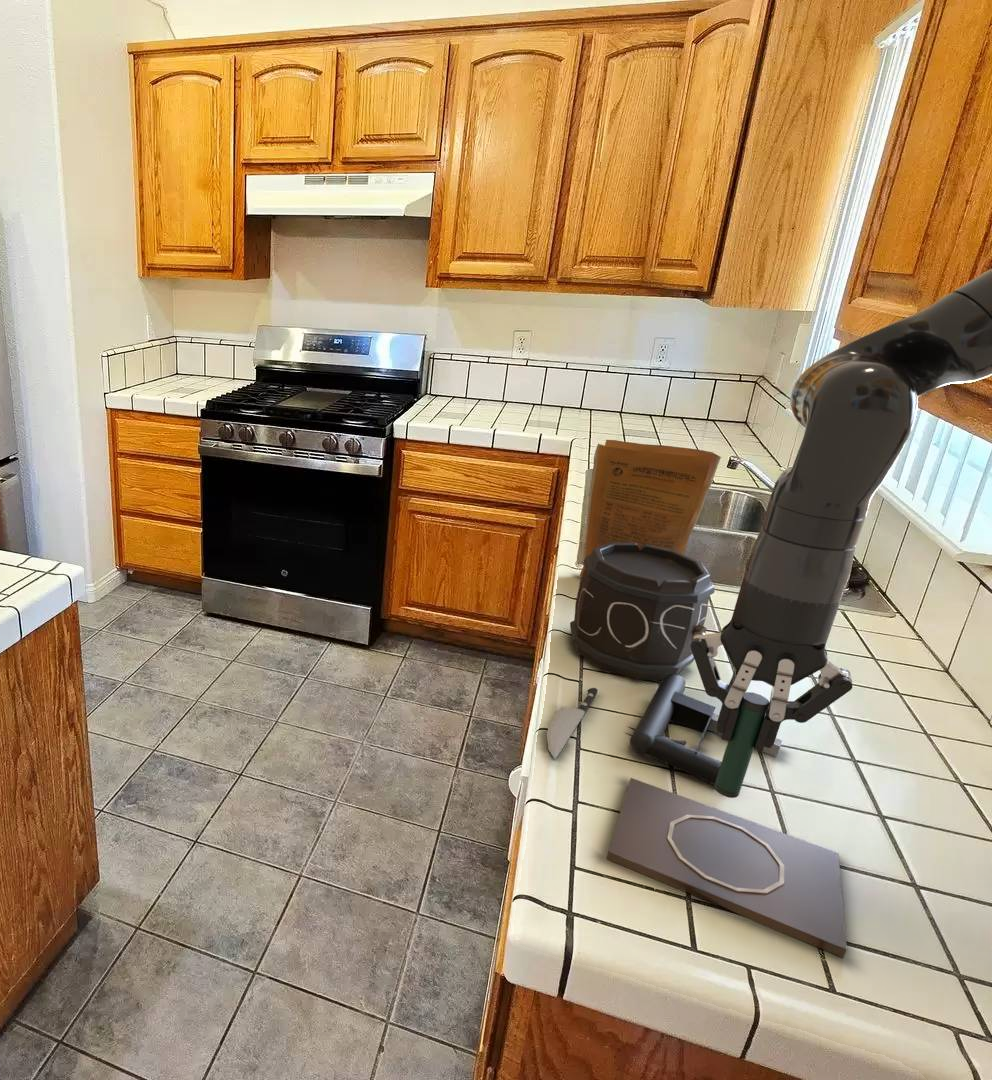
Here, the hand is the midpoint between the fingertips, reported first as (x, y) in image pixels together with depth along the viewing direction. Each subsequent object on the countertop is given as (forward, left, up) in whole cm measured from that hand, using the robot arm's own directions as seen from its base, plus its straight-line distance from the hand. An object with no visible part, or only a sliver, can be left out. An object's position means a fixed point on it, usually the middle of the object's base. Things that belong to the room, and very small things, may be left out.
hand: (742, 740), depth 74 cm
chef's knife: (+18, -14, -13) cm, 26 cm away
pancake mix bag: (+19, -65, -13) cm, 69 cm away
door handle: (+2, -21, -13) cm, 25 cm away
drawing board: (-1, +2, -13) cm, 13 cm away
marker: (0, 0, -6) cm, 6 cm away
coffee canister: (+14, -39, -13) cm, 43 cm away
